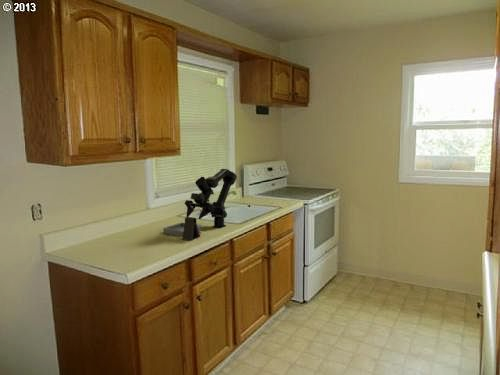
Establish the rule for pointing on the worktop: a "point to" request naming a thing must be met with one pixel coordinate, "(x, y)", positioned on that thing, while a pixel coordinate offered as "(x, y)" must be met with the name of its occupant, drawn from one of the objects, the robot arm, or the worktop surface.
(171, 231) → the tray
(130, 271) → the worktop surface
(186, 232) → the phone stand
